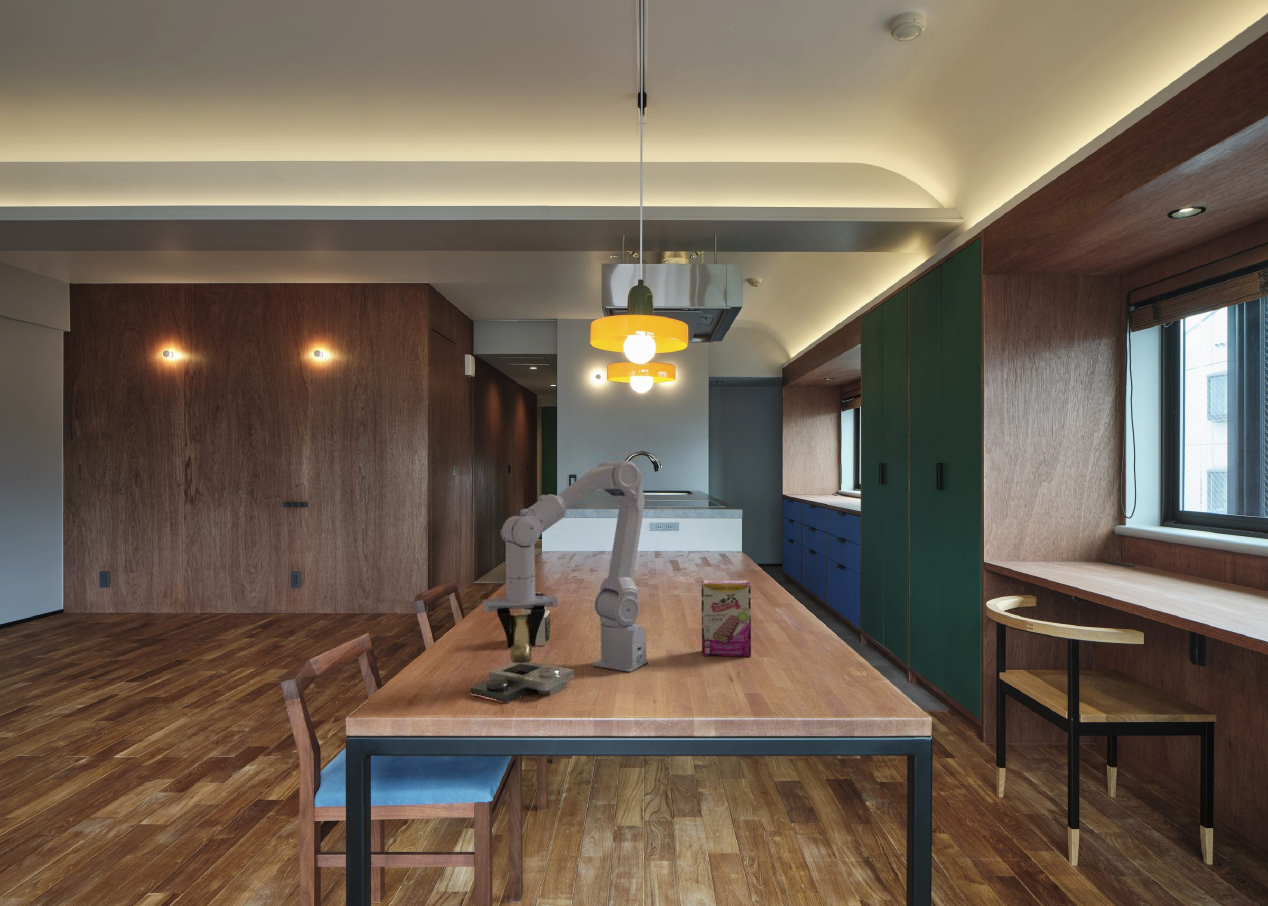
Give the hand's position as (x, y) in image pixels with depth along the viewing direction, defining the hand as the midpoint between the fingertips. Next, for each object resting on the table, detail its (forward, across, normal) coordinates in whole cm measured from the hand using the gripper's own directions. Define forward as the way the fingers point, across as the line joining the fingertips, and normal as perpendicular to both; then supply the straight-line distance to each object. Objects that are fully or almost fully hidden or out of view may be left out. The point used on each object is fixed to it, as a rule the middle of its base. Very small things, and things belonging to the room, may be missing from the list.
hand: (521, 645), depth 128 cm
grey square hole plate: (+8, -2, +2) cm, 8 cm away
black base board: (+8, +2, +2) cm, 8 cm away
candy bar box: (+8, -47, -7) cm, 48 cm away
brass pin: (+3, 0, 0) cm, 3 cm away
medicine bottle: (+8, -6, -31) cm, 32 cm away
